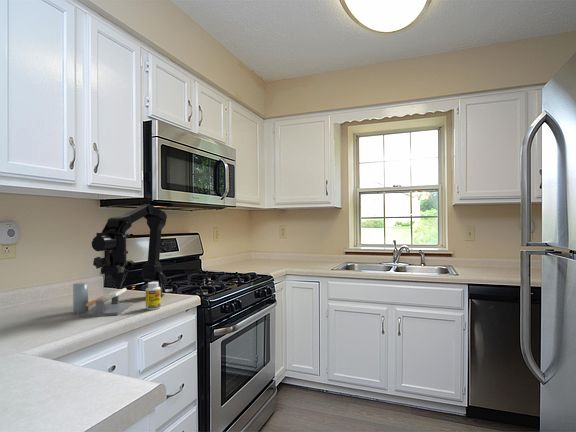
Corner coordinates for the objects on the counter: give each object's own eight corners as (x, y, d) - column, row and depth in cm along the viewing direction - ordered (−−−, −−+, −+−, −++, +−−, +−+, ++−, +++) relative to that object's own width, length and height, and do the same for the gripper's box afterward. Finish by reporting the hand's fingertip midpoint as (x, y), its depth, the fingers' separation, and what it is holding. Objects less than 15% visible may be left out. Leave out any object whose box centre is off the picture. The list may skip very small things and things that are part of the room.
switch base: (99, 306, 139) (99, 292, 139) (132, 304, 140) (132, 291, 140) (80, 317, 123) (80, 301, 123) (117, 315, 124) (117, 300, 124)
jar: (77, 310, 133) (77, 282, 133) (90, 309, 133) (90, 281, 133) (70, 313, 128) (70, 284, 128) (84, 313, 128) (84, 284, 128)
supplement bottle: (147, 311, 130) (146, 284, 130) (144, 308, 134) (144, 282, 134) (162, 308, 133) (162, 282, 133) (159, 305, 137) (158, 280, 138)
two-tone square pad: (101, 301, 137) (99, 296, 137) (128, 291, 138) (126, 287, 138) (86, 309, 125) (84, 304, 125) (116, 298, 126) (114, 293, 126)
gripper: (106, 247, 141) (107, 285, 141) (85, 251, 122) (85, 294, 122) (134, 247, 142) (134, 284, 142) (117, 250, 124) (117, 293, 123)
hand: (118, 288), depth 132 cm, fingers closed
